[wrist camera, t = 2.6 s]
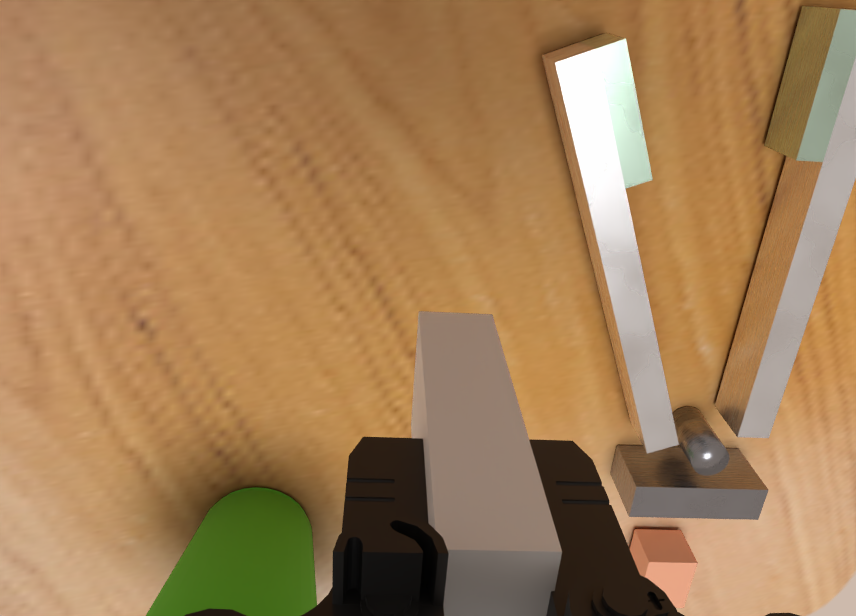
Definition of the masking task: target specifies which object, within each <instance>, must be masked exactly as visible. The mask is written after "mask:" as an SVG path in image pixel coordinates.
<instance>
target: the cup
mask: <svg viewBox="0 0 856 616" xmlns="http://www.w3.org/2000/svg"><path fill="white" fill-rule="evenodd" d="M316 606H317V599H316V584H315V569H314V554H313V539H312V527H311V524H310V522H309V519H308V517H307V516H306V514H305V511H304V510H303V509H302V508H301V506H300V505H299V504H298V503H297V502H296V501H295V500H293V499H292V498H291V497H289V496H287V495H285V494H283V493H281V492H279V491H276V490H272V489H268V488H258V487H253V488H245V489H241V490H238V491H234V492H232V493H230V494H228V495H227V496H225V497H223V498H222V499H221V500H220V501H218V502H217V503H216V504H215V505H214V506H213V507H212V508H211V509H210V510H209V511H208V513H207V515H206V516H205V518H204V520H203V521H202V523H201V525H200V526H199V528H198V530H197V531H196V533H195V535H194V536H193V538H192V540H191V541H190V543H189V545H188V546H187V548H186V550H185V551H184V553H183V555H182V556H181V558H180V560H179V561H178V563H177V565H176V566H175V568H174V570H173V571H172V573H171V575H170V576H169V578H168V580H167V581H166V583H165V585H164V586H163V588H162V590H161V591H160V593H159V595H158V596H157V598H156V600H155V601H154V603H153V605H152V606H151V608H150V610H149V611H148V613H147V615H146V616H185V615H186V614H190V613H194V612H198V611H201V610H205V609H209V608H212V609H232V610H235V611H237V612H239V613H242V614H244V615H247V616H301V615H303V614H305V613H306V612H308V611H310V610H311V609H313V608H314V607H316Z"/></svg>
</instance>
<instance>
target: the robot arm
mask: <svg viewBox="0 0 856 616" xmlns="http://www.w3.org/2000/svg"><path fill="white" fill-rule="evenodd" d="M411 431H412V438H386V437H363V438H362V439H361V441H360V442H359V443H358V445H357V446H356V447H355V449H354V450H353V451H352V452H351V454H350V455H349V461H348V472H347V483H346V493H345V504H344V515H343V525H342V533H341V534H340V535H339V537H338V540H337V542H336V545H335V548H334V550H333V587H332V589H331V591H330V592H329V594H328V595H327V596H326V597H325V598H324V599H323V600H322V601H321V602H320V603H319V604H318V605H317V606H316V607H314V608H313V609H311V610H310V611H308V612H306V613H305V614H303V615H301V616H684V615H682V614H681V613H679V612H677V610H676V608H675V606H674V605H673V603H672V602H671V601H670V599H669V598H668V596H667V595H666V593H665V592H664V591H663V590H662V589H660V588H659V587H658V586H657V585H655V584H654V583H653V582H652V581H650V580H649V579H648V578H645V577H643V576H641V575H640V574H639V571H638V569H637V566H636V564H635V561H634V559H633V557H632V554H631V552H630V549H629V547H628V545H627V542H626V540H625V537H624V535H623V533H622V530H621V528H620V525H619V523H618V520H617V518H616V516H615V513H614V511H613V508H612V506H611V505H609V499H608V496H607V494H606V491H605V489H604V487H602V482H601V479H600V477H599V475H598V472H597V470H596V467H595V465H594V463H593V460H592V459H591V458H590V457H589V456H588V455H587V454H586V453H585V452H584V451H583V450H582V449H580V448H579V447H578V446H577V445H576V444H575V443H574V442H573V441H560V440H529V438H528V434H527V431H526V427H525V424H524V421H523V417H522V414H521V410H520V407H519V404H518V400H517V397H516V393H515V390H514V387H513V383H512V380H511V377H510V373H509V370H508V366H507V363H506V360H505V356H504V353H503V349H502V346H501V343H500V339H499V336H498V332H497V329H496V326H495V322H494V319H493V315H492V314H470V313H446V312H422V311H419V317H418V331H417V346H416V361H415V376H414V391H413V405H412V420H411ZM185 616H247V615H244V614H242V613H239V612H237V611H235V610H232V609H212V608H209V609H205V610H201V611H198V612H194V613H190V614H186V615H185ZM766 616H799V615H796V614H792V613H770V614H768V615H766Z"/></svg>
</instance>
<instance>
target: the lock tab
mask: <svg viewBox="0 0 856 616" xmlns="http://www.w3.org/2000/svg"><path fill="white" fill-rule="evenodd" d="M630 552H631V554H632V557H633V559H634V561H635V564H636V566H637V569H638V571H639V574H640V575H641V576H643V577H645V578H648V579H649V580H650V581H652V582H653V583H654V584H655V585H657V586H658V587H659V588H660V589H662V590H663V591H664V592H665V593H666V595H667V596H668V598H669V599H670V601H671V602H672V603H673V605H674V606H675V608H684V606H685V602H686V599H687V596H688V593H689V589H690V586H691V583H692V580H693V577H694V573H695V570H696V567H697V564H698V563H697V561H696V559H695V557H694V555H693V553H692V551H691V549H690V547H689V545H688V543H687V541H686V539H685V537H684V535H683V533H682V531H681V530H648V529H635V530H634V534H633V538H632V542H631V546H630Z"/></svg>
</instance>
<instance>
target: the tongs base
mask: <svg viewBox="0 0 856 616" xmlns="http://www.w3.org/2000/svg"><path fill="white" fill-rule="evenodd" d="M764 146H766V147H769V148H771V149H773V150H775V151H777V152H779V153H781V154H783V155H786V160H785V163H784V167H783V170H782V173H781V177H780V180H779V184H778V187H777V191H776V194H775V198H774V201H773V205H772V208H771V212H770V215H769V219H768V222H767V226H766V229H765V233H764V236H763V240H762V243H761V247H760V250H759V253H758V257H757V260H756V264H755V267H754V271H753V274H752V278H751V281H750V285H749V288H748V292H747V295H746V299H745V302H744V306H743V309H742V313H741V316H740V320H739V323H738V327H737V330H736V333H735V337H734V340H733V344H732V347H731V351H730V354H729V358H728V361H727V365H726V368H725V372H724V375H723V379H722V382H721V386H720V389H719V393H718V396H717V400H716V403H715V407H716V409H717V410H718V411H719V413H720V414H721V415H722V417H723V418H724V419H725V421H726V422H727V424H728V425H729V426H730V428H731V429H732V430H733V432H734V433H735V434H736V436H737V437H752V438H769V436H770V433H771V430H772V427H773V424H774V421H775V418H776V415H777V412H778V409H779V406H780V403H781V400H782V397H783V394H784V391H785V388H786V385H787V382H788V379H789V376H790V373H791V370H792V367H793V364H794V361H795V358H796V355H797V352H798V349H799V346H800V343H801V340H802V337H803V334H804V331H805V328H806V325H807V322H808V319H809V316H810V313H811V310H812V307H813V304H814V301H815V298H816V295H817V292H818V289H819V286H820V283H821V280H822V277H823V274H824V271H825V268H826V265H827V262H828V259H829V256H830V253H831V250H832V247H833V244H834V241H835V238H836V235H837V232H838V229H839V226H840V223H841V220H842V217H843V214H844V211H845V208H846V205H847V202H848V199H849V196H850V193H851V190H852V187H853V184H854V181H855V178H856V10H852V9H838V8H825V7H811V6H802V9H801V13H800V16H799V20H798V24H797V27H796V31H795V35H794V38H793V42H792V46H791V49H790V53H789V57H788V60H787V64H786V68H785V71H784V75H783V79H782V83H781V86H780V90H779V94H778V97H777V101H776V105H775V108H774V112H773V116H772V119H771V123H770V127H769V130H768V134H767V138H766V141H765V145H764ZM672 414H673V419H674V424H675V429H676V433H677V438H678V443H679V445H680V447H669V448H665V449H662V450H658V451H655V452H651V453H648V454H647V452H646V451H645V449H644V447H643V446H631V445H617V447H616V451H615V456H614V460H613V465H612V469H611V476H612V478H613V481H614V483H615V485H616V488H617V490H618V492H619V495H620V497H621V499H622V502H623V504H624V506H625V508H626V511H627V513H628V515H629V517H665V518H710V519H756V520H758V518H759V516H760V513H761V510H762V507H763V504H764V501H765V498H766V495H767V493H768V489H767V487H766V486H765V485H764V483H763V482H762V480H761V479H760V478H759V476H758V475H757V474H756V472H755V471H754V469H753V468H752V467H751V465H750V464H749V462H748V461H747V460H746V458H745V457H744V455H743V454H742V453H741V451H740V450H739V449H734V448H725V447H724V446H723V444H722V443H721V441H720V440H719V438H718V437H717V436H716V434H715V433H714V431H713V430H712V428H711V427H710V425H709V424H708V423H707V421H706V420H705V418H704V417H703V415H702V414H701V412H700V411H699V410H698V409H696V408H694V407H682V408H679V409H677V410H676V411H675V412H673V413H672Z"/></svg>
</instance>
